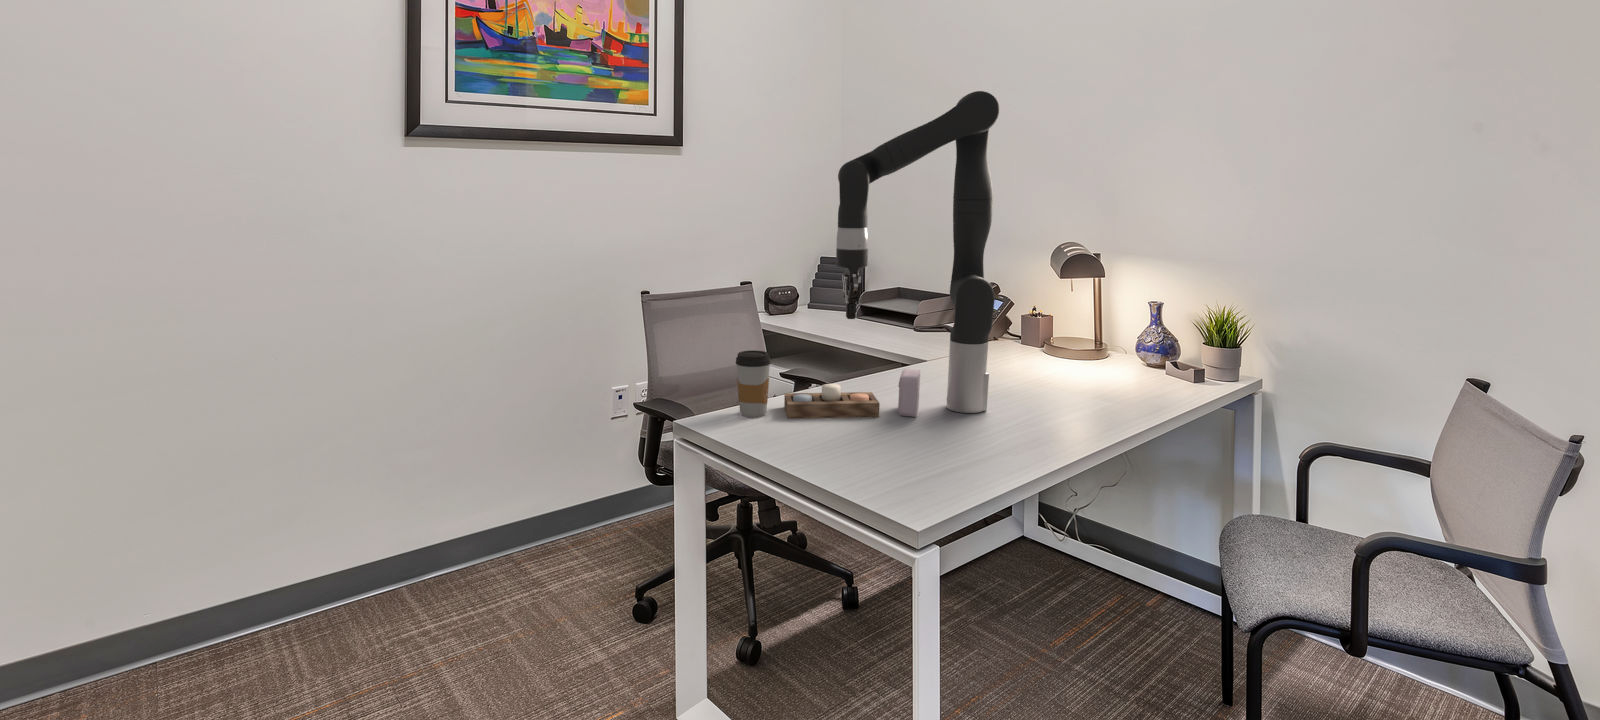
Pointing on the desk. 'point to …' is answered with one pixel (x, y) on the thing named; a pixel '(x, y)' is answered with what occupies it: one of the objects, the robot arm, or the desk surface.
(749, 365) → the coffee cup
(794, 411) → the brown wooden tray
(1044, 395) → the desk surface
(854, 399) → the pink rounded block
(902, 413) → the electronic device
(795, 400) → the light blue rounded block
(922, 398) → the desk surface
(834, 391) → the cream key
